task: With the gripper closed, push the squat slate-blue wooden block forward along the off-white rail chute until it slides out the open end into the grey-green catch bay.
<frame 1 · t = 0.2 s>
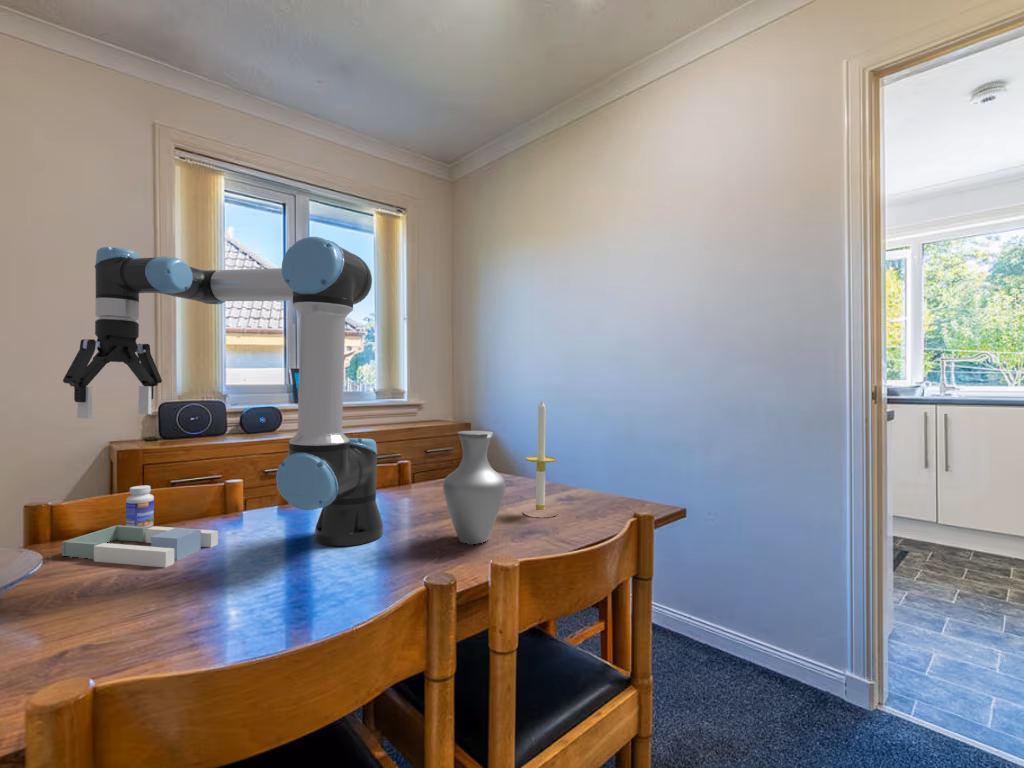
hand: (116, 416, 109), 28 cm above the table, fingers open, 13 cm apart
block: (176, 554, 101), on the table
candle: (540, 514, 137), on the table
pill bottle: (139, 527, 119), on the table
catch: (107, 548, 104), on the table
chute: (159, 552, 102), on the table
vase: (473, 540, 113), on the table
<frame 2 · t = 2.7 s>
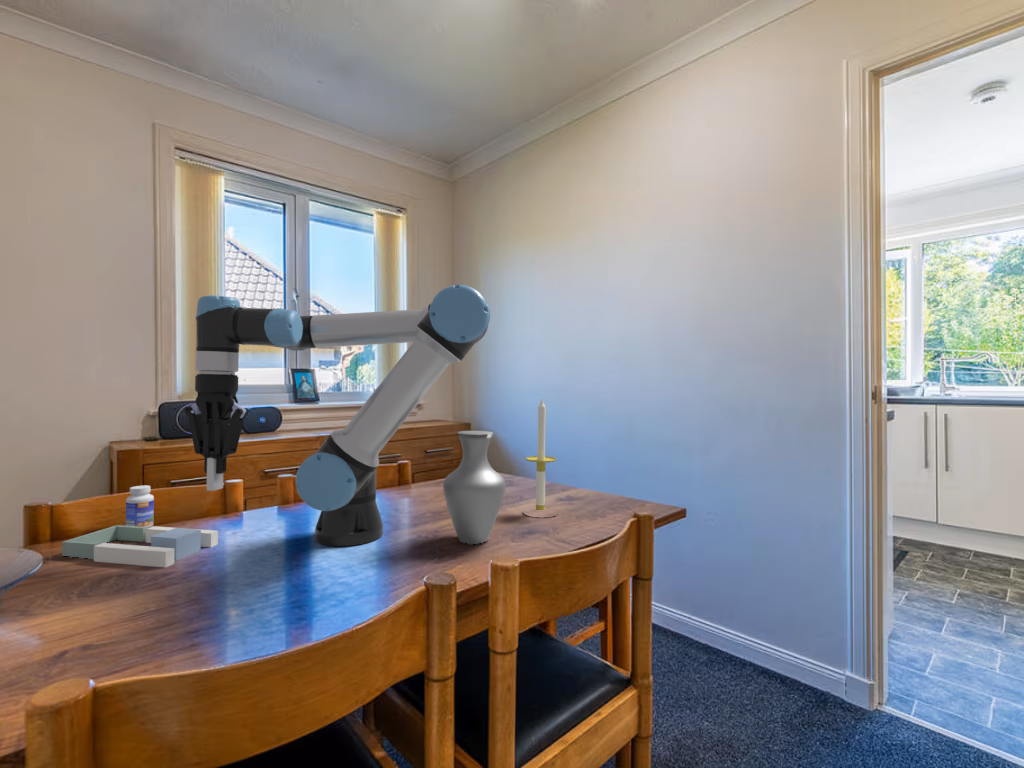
hand: (214, 489, 100), 14 cm above the table, fingers closed
nothing on the table moved.
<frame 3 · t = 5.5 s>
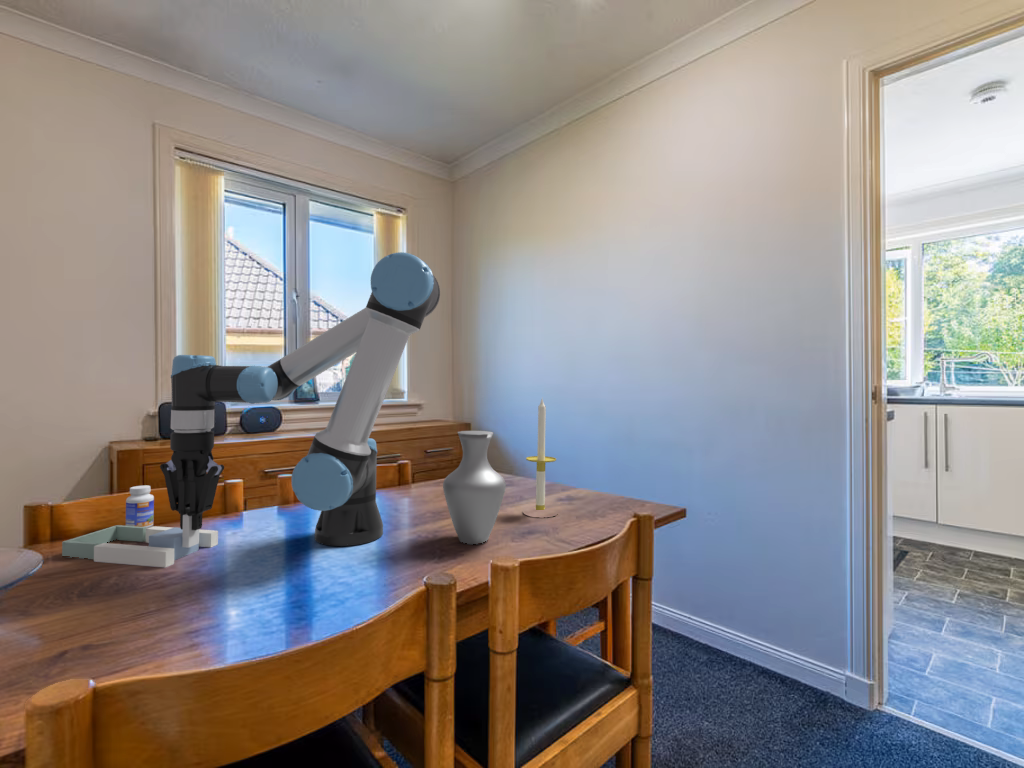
hand: (190, 545, 101), 2 cm above the table, fingers closed
block: (174, 554, 101), on the table, touching gripper
everything else where it was.
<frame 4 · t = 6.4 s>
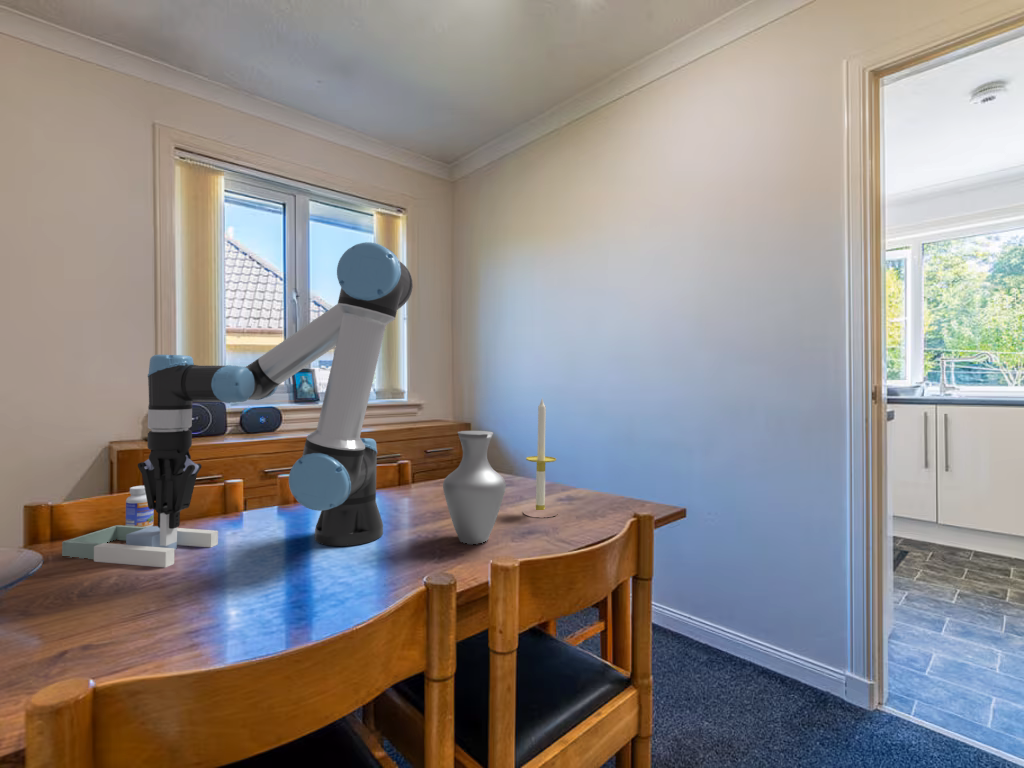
hand: (168, 543, 102), 2 cm above the table, fingers closed
block: (151, 552, 102), on the table, touching gripper
everything else where it was.
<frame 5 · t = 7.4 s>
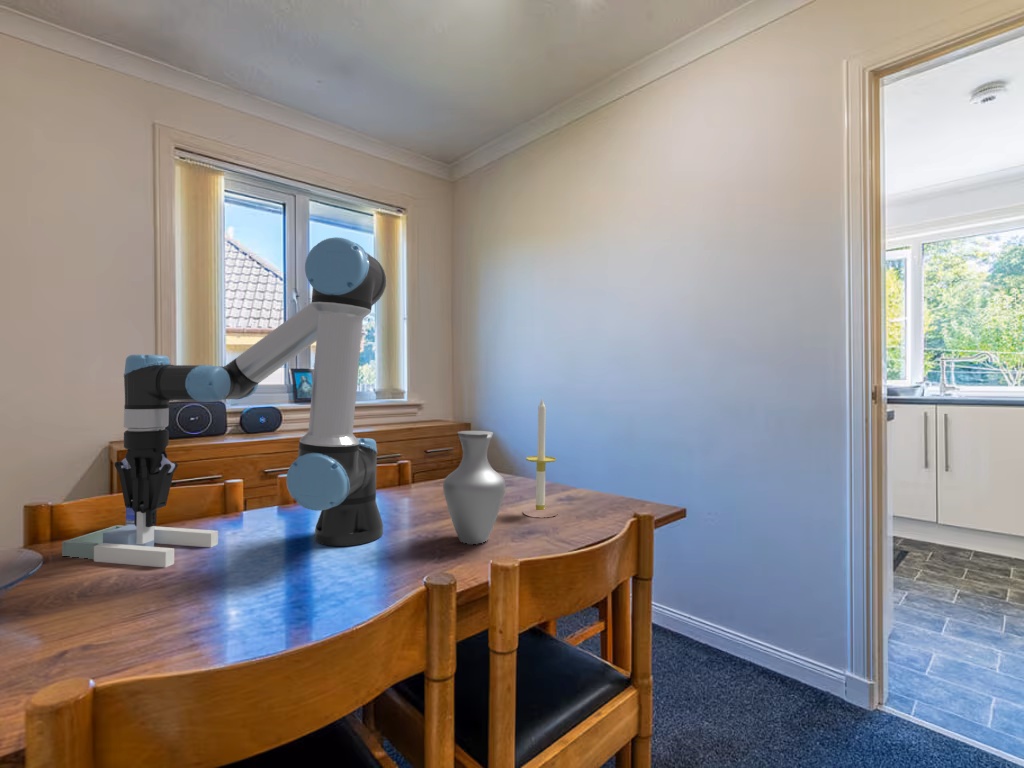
hand: (145, 541, 102), 2 cm above the table, fingers closed
block: (129, 550, 103), on the table, touching gripper
everything else where it was.
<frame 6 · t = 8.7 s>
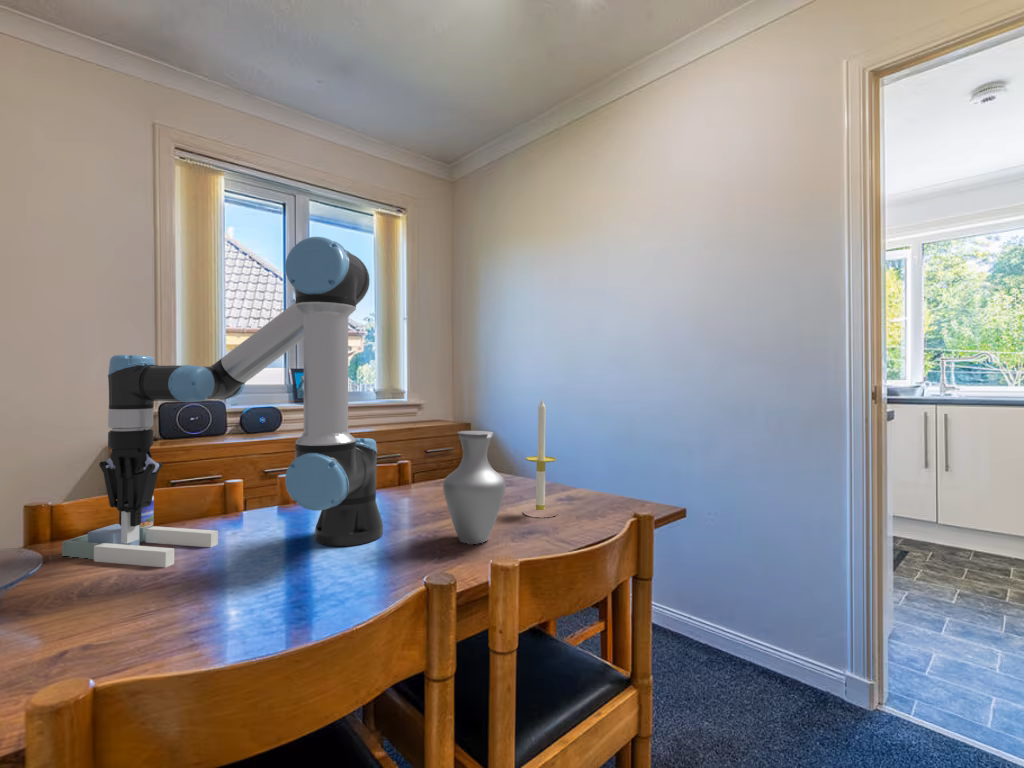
hand: (130, 541, 103), 2 cm above the table, fingers closed
block: (114, 550, 103), on the table
everything else where it was.
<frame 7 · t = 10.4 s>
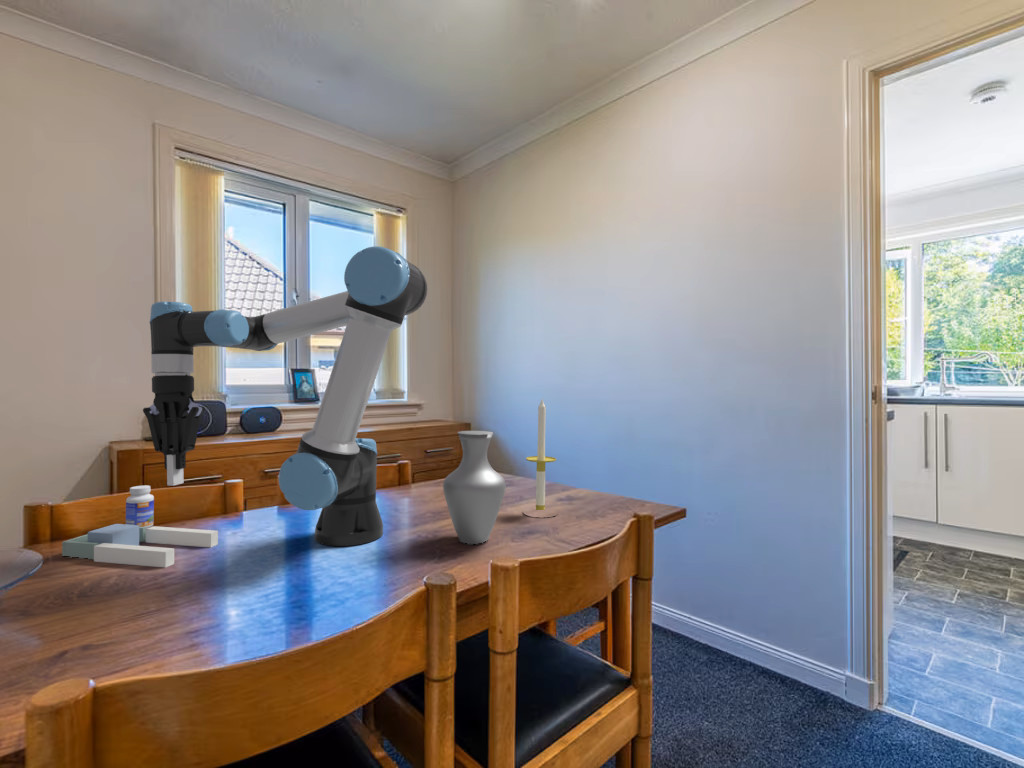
hand: (175, 484, 106), 13 cm above the table, fingers closed
nothing on the table moved.
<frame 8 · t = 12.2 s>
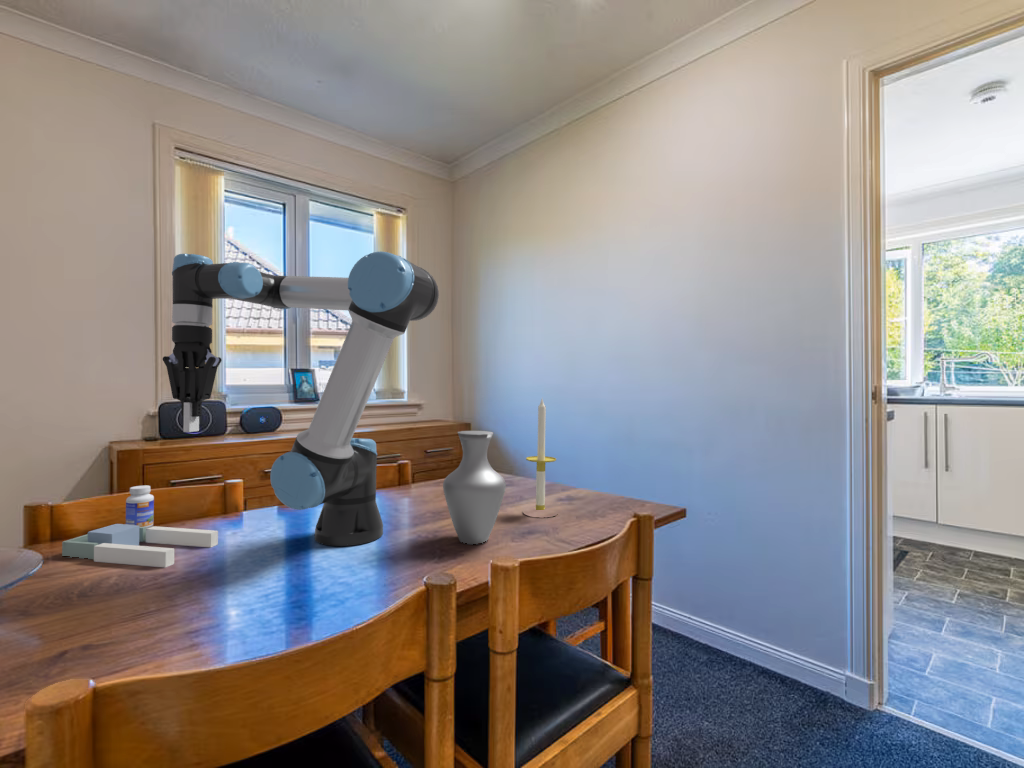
hand: (191, 431, 110), 24 cm above the table, fingers closed
nothing on the table moved.
at the end: block inside the target area (1.7 cm from its centre), on the table; block tilted 0°; block moved 14.8 cm from its start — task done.
